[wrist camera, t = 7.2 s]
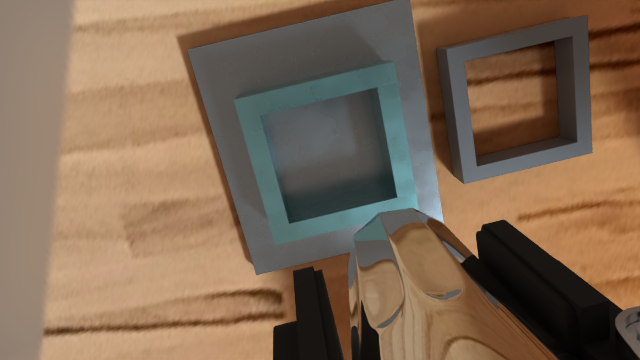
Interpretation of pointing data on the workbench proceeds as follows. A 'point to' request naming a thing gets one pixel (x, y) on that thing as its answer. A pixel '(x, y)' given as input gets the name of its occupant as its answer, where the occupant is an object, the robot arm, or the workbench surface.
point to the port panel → (320, 130)
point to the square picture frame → (570, 95)
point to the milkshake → (434, 298)
